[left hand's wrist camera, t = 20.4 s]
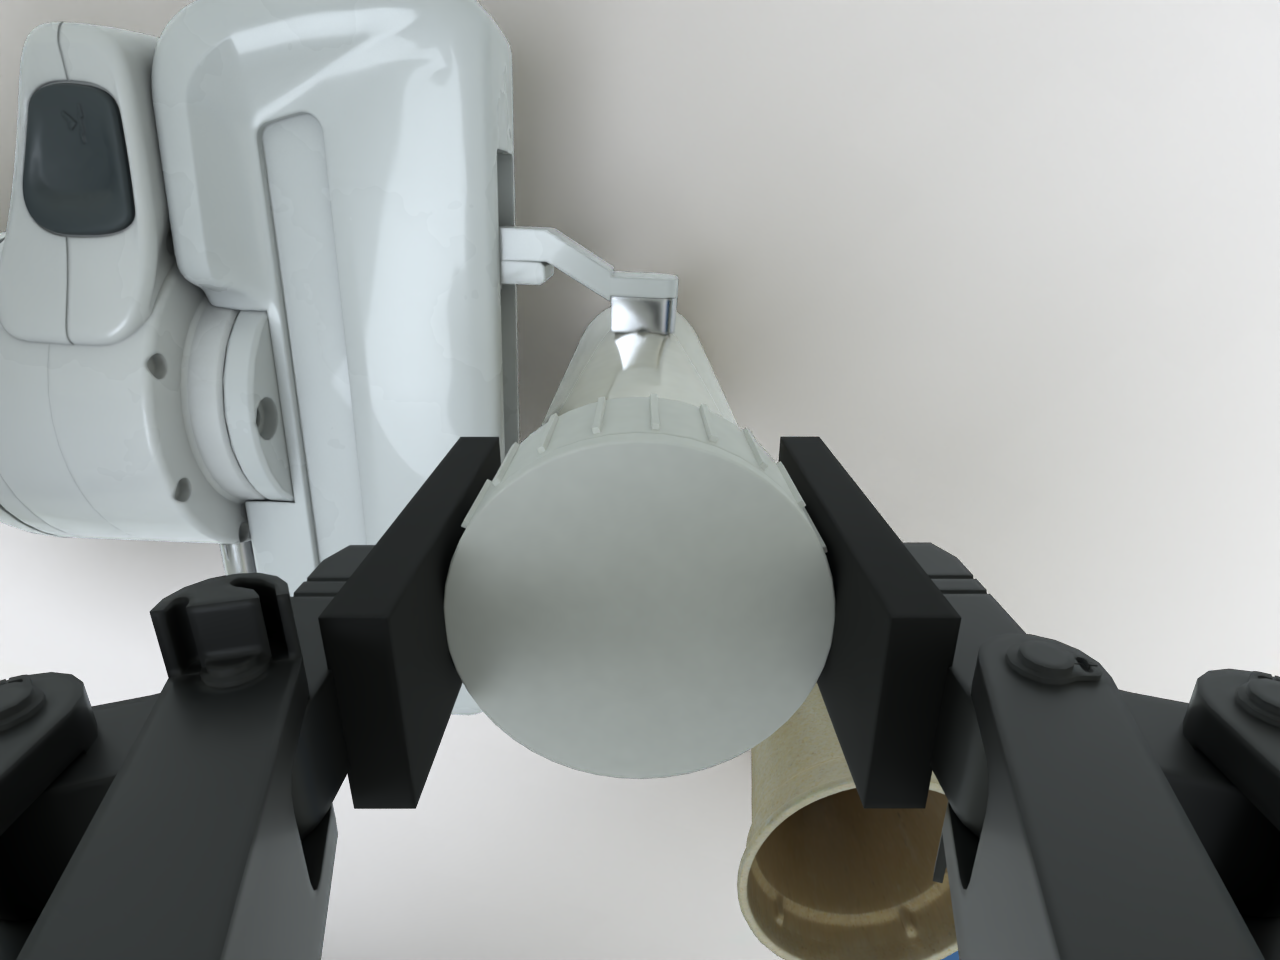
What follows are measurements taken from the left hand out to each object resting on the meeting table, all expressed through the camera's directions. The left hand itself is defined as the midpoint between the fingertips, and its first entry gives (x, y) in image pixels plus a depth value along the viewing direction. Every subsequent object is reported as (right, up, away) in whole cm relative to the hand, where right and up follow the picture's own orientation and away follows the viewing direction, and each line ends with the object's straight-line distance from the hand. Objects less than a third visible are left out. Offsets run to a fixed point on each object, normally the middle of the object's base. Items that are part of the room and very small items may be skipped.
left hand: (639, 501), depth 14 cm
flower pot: (+8, -10, +18) cm, 23 cm away
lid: (0, -2, -4) cm, 4 cm away
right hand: (+1, +2, +6) cm, 7 cm away
